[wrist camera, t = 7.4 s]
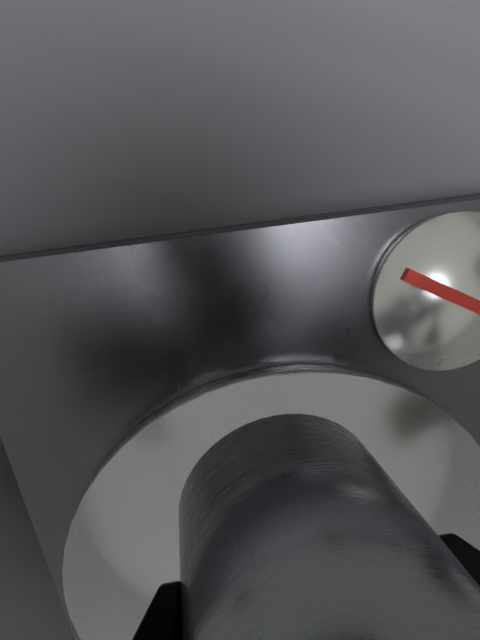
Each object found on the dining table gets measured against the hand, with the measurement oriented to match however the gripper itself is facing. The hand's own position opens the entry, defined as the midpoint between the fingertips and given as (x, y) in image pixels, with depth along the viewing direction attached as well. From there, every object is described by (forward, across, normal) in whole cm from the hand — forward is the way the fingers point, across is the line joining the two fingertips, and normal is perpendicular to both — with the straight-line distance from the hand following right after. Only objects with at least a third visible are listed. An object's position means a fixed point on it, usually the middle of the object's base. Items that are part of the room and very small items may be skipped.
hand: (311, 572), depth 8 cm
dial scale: (+5, 0, +2) cm, 6 cm away
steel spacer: (+2, 0, 0) cm, 2 cm away
